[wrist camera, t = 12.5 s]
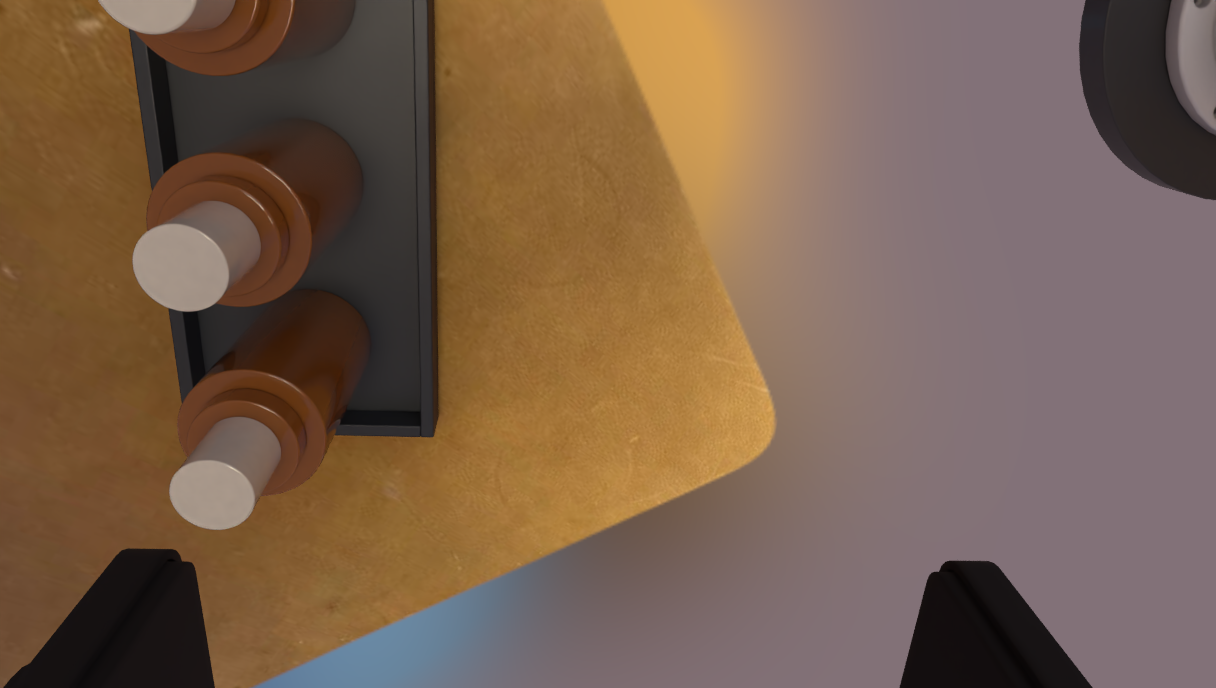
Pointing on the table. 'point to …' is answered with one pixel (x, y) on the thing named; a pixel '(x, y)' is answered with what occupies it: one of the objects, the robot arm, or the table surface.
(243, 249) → the bottle
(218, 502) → the loose bottle
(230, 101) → the tray
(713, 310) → the table surface
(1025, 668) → the robot arm
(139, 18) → the bottle
